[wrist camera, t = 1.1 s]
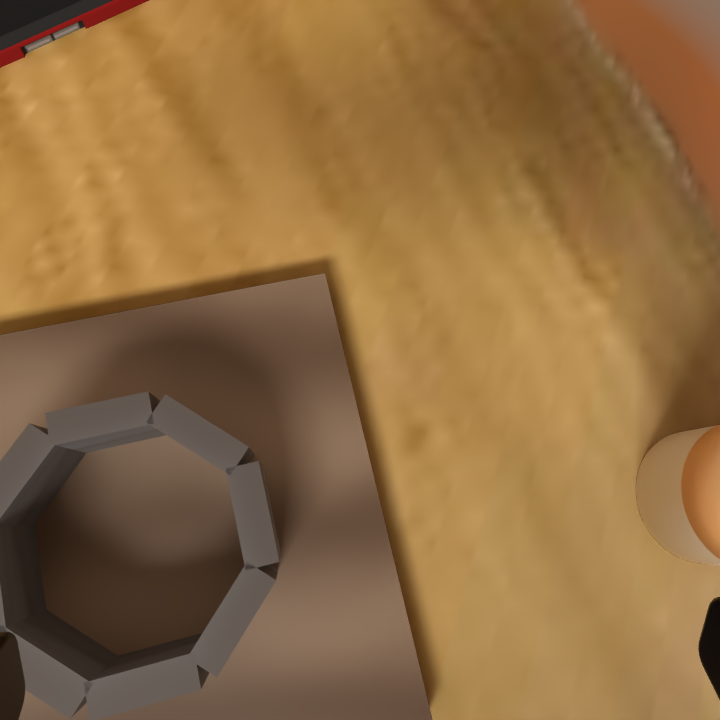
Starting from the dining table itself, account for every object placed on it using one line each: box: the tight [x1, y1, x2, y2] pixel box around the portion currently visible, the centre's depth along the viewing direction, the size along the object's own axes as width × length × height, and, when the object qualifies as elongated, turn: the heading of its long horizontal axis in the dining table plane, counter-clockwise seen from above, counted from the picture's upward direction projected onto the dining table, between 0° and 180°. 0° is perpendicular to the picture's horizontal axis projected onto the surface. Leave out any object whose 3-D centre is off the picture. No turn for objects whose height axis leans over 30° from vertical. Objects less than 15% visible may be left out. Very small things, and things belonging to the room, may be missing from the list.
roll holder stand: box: [0, 273, 432, 720], centre depth 20 cm, size 16×16×4 cm
